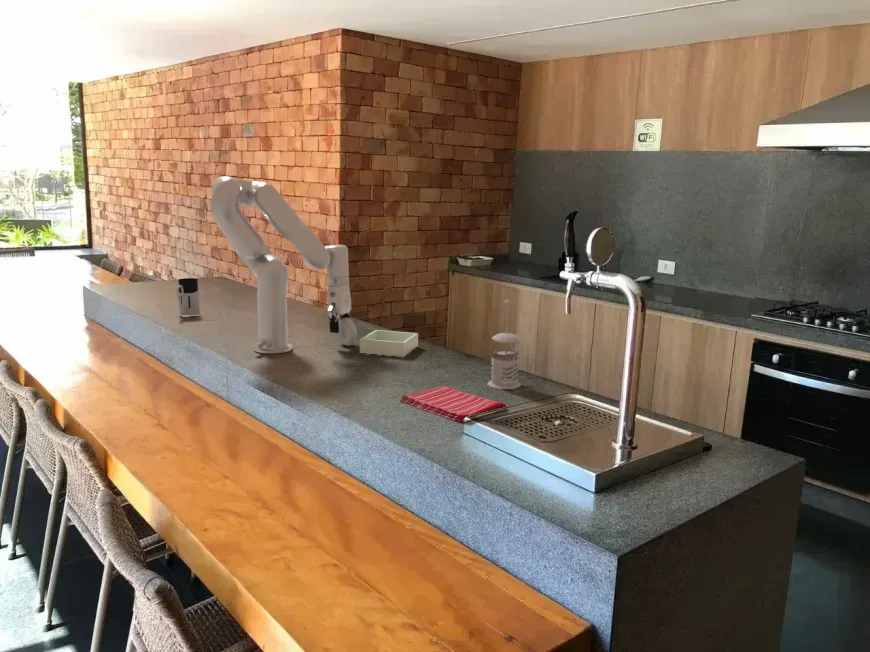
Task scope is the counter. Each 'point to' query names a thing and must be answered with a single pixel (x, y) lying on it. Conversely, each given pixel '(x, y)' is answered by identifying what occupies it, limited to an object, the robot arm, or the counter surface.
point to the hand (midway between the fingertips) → (340, 329)
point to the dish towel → (450, 403)
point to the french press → (505, 361)
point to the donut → (347, 332)
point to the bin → (389, 343)
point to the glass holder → (188, 296)
